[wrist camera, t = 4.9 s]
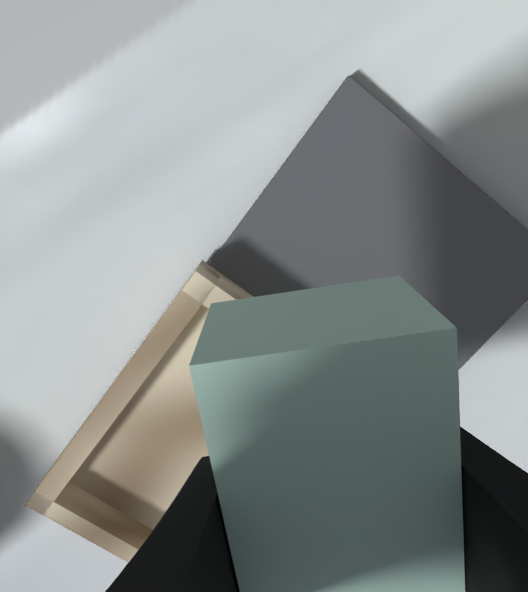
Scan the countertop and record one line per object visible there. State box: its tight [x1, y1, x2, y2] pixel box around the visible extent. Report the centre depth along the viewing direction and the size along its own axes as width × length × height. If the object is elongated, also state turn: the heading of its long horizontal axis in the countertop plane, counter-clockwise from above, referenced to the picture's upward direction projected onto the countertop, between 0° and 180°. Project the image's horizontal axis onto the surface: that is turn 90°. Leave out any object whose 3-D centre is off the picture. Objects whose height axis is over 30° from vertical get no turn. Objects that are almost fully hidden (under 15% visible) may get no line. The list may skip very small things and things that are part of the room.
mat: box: [209, 76, 528, 370], centre depth 18 cm, size 10×20×1 cm, turn 143°
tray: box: [25, 260, 253, 562], centre depth 18 cm, size 8×12×2 cm, turn 143°
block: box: [189, 276, 465, 592], centre depth 9 cm, size 8×4×3 cm, turn 9°
